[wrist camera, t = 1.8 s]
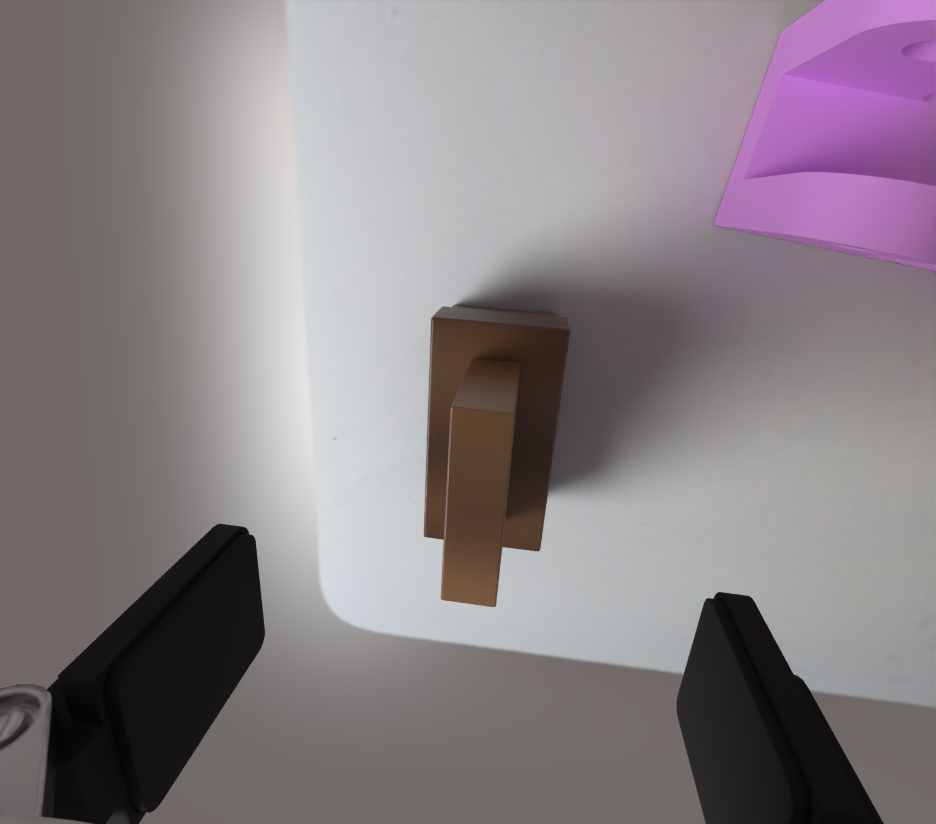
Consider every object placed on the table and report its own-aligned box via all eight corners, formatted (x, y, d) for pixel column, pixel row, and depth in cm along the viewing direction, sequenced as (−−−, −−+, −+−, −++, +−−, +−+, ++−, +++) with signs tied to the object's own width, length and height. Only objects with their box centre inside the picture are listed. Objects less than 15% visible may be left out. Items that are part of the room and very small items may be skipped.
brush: (448, 298, 20) (395, 354, 12) (565, 308, 19) (581, 372, 12) (439, 491, 23) (392, 625, 16) (539, 502, 23) (540, 647, 15)
